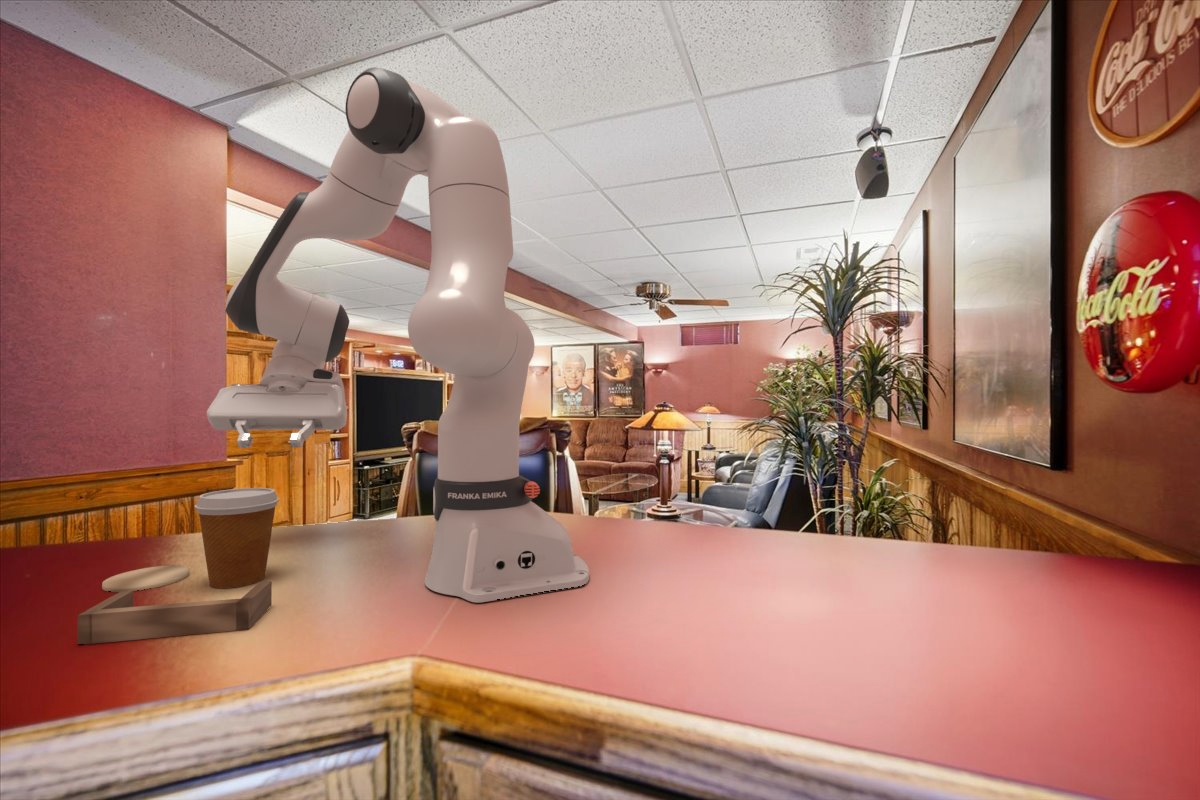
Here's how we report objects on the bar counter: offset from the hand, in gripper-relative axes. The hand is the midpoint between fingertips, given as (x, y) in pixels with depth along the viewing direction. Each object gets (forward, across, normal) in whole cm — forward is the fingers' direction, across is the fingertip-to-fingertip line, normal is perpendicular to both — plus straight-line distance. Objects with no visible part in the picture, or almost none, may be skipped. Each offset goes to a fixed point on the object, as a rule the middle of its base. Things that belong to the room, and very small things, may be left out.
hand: (269, 445), depth 83 cm
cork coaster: (+19, -12, +6) cm, 23 cm away
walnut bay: (+30, 0, -6) cm, 31 cm away
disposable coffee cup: (+21, 0, +4) cm, 21 cm away
